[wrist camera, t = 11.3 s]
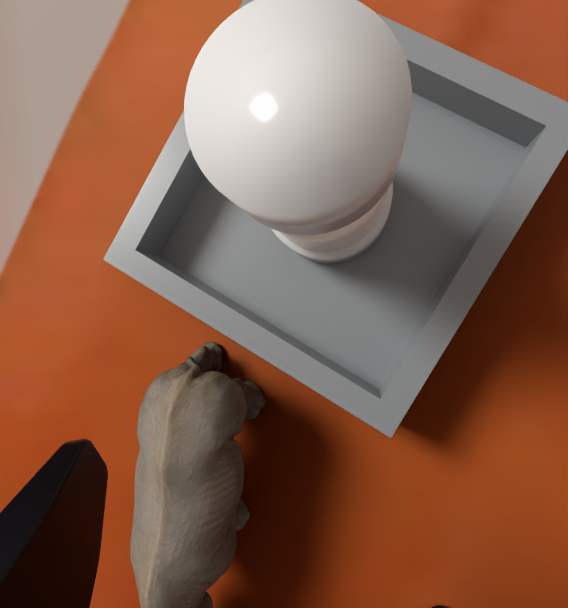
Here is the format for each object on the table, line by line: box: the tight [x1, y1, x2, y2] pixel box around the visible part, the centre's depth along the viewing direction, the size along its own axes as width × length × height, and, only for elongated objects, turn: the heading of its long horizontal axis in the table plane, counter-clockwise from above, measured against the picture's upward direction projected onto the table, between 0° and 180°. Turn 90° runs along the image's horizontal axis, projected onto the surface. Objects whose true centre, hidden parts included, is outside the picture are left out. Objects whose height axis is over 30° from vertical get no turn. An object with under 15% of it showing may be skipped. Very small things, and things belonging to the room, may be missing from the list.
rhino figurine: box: [130, 342, 265, 608], centre depth 19 cm, size 4×14×6 cm, turn 174°
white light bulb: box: [184, 0, 412, 264], centre depth 15 cm, size 5×5×10 cm
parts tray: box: [103, 0, 568, 438], centre depth 19 cm, size 13×13×3 cm
